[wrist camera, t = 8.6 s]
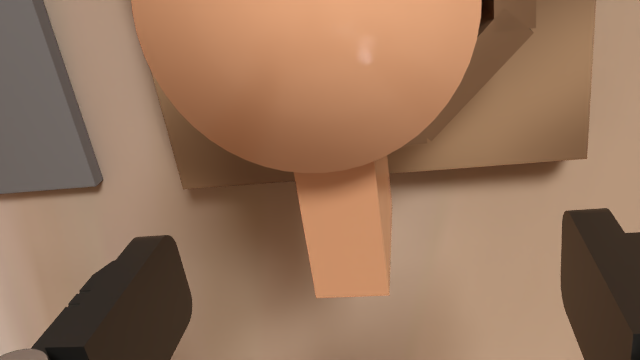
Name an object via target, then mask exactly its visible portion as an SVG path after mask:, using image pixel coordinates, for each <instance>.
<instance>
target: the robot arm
mask: <svg viewBox="0 0 640 360" xmlns="http://www.w3.org/2000/svg"><path fill="white" fill-rule="evenodd" d="M561 292H562V299H563V304H564V308H565V311H566V314H567V316H568V319H569V321H570V324H571V327H572V329H573V332H574V334H575V337H576V339H577V342H578V344H579V347H580V350H581V352H582V355H583V357H584V360H640V232H639V233H625V232H624V231H623V229H622V228H621V226H620V225H619V223H618V222H617V220H616V219H615V217H614V216H613V214H612V213H611V212H610V210H609V209H607V208H602V209H587V210H571V211H565V212H564V215H563V220H562V250H561ZM191 314H192V297H191V292H190V289H189V286H188V282H187V279H186V275H185V272H184V268H183V265H182V262H181V258H180V255H179V251H178V248H177V245H176V242H175V240H174V239H173V238H172V237H171V236H169V235H163V236H147V237H136V238H134V239H133V240H132V241H131V242H130V243H129V244H128V246H127V247H126V248H125V249H124V251H123V252H122V253H121V254H120V256H119V257H118V258H117V259H116V260H115V261H112V262H111V263H109V264H108V265H106V266H105V267H104V268H102V269H101V270H99V271H98V272H96V273H95V274H94V275H92V277H91V278H90V279H89V280H88V281H87V282H86V284H85V285H84V286H83V287H82V288H81V290H80V293H79V294H76V296H75V297H74V298H73V299H72V300H71V301H70V303H69V306H68V307H65V309H64V310H63V311H62V312H61V313H60V314H59V316H58V317H57V318H56V319H55V320H54V322H53V323H52V324H51V325H50V326H49V328H48V329H47V330H46V331H45V332H44V333H43V335H42V336H41V337H40V338H39V339H38V341H37V342H36V343H35V344H34V345H33V346H32V348H31V349H22V350H17V351H13V352H10V353H7V354H4V355H2V356H0V360H170V359H171V357H172V355H173V353H174V351H175V349H176V347H177V345H178V343H179V341H180V339H181V338H182V336H183V334H184V332H185V330H186V328H187V326H188V324H189V322H190V318H191Z"/></svg>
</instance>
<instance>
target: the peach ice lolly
mask: <svg viewBox="0 0 640 360" xmlns="http://www.w3.org/2000/svg"><path fill="white" fill-rule="evenodd" d="M131 2H132V13H133V17H134V22H135V27H136V32H137V36H138V39H139V42H140V45H141V48H142V51H143V53H144V56H145V58H146V61H147V63H148V65H149V67H150V69H151V71H152V73H153V75H154V77H155V79H156V81H157V82H158V84H159V85H160V87H161V89H162V90H163V92H164V93H165V95H166V96H167V98H168V99H169V100H170V101H171V103H172V104H173V105H174V106H175V108H176V109H177V110H178V112H179V113H180V114H181V115H182V116H183V117H184V118H185V119H186V120H187V121H188V122H189V123H190V124H191V125H192V126H193V127H194V128H196V129H197V130H198V131H199V132H201V133H202V134H203V135H204V136H205V137H207V138H208V139H209V140H211V141H212V142H214V143H215V144H217V145H218V146H220V147H222V148H223V149H225V150H226V151H228V152H230V153H232V154H234V155H236V156H238V157H240V158H242V159H245V160H247V161H250V162H253V163H255V164H258V165H261V166H264V167H268V168H272V169H277V170H281V171H287V172H294V177H295V183H296V188H297V194H298V199H299V205H300V211H301V216H302V222H303V227H304V233H305V239H306V244H307V250H308V255H309V261H310V266H311V272H312V278H313V283H314V289H315V294H316V298H331V297H358V296H384V295H389V289H390V258H391V228H392V199H391V190H390V180H389V170H388V160H387V155H389V154H390V153H392V152H394V151H396V150H398V149H399V148H401V147H403V146H404V145H405V144H407V143H408V142H409V141H411V140H412V139H414V138H415V137H416V136H418V135H419V134H420V133H421V132H422V131H423V130H424V129H425V128H426V127H427V126H428V125H429V124H430V123H432V122H433V121H434V120H435V118H436V117H437V116H438V115H439V114H440V112H441V111H442V110H443V109H444V107H445V106H446V105H447V104H448V102H449V101H450V99H451V98H452V96H453V94H454V93H455V91H456V90H457V88H458V86H459V85H460V83H461V81H462V79H463V76H464V74H465V72H466V70H467V68H468V65H469V63H470V60H471V57H472V54H473V51H474V47H475V44H476V41H477V36H478V30H479V25H480V19H481V4H482V0H131Z"/></svg>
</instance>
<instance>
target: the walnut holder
mask: <svg viewBox="0 0 640 360" xmlns="http://www.w3.org/2000/svg"><path fill="white" fill-rule="evenodd" d="M595 8H596V0H482V4H481V19H480V25H479V30H478V36H477V41H476V44H475V47H474V51H473V54H472V57H471V60H470V63H469V65H468V68H467V70H466V72H465V74H464V76H463V79H462V81H461V83H460V85H459V86H458V88H457V90H456V91H455V93H454V94H453V96H452V98H451V99H450V101H449V102H448V104H447V105H446V106H445V107H444V109H443V110H442V111H441V112H440V114H439V115H438V116H437V117H436V118H435V120H434V121H433V122H432V123H430V124H429V125H428V126H427V127H426V128H425V129H424V130H423V131H422V132H421V133H420V134H419V135H418V136H416V137H415V138H414V139H412V140H411V141H409V142H408V143H407V144H405V145H404V146H403V147H401V148H399V149H398V150H396V151H394V152H392V153H390V154H389V155H387V160H388V170H389V174H392V173H405V172H418V171H431V170H445V169H458V168H471V167H484V166H497V165H510V164H524V163H537V162H550V161H563V160H576V159H587V149H588V132H589V114H590V96H591V79H592V61H593V44H594V26H595ZM151 73H152V71H151ZM152 76H153V80H154V84H155V87H156V91H157V95H158V98H159V102H160V106H161V109H162V113H163V117H164V120H165V124H166V128H167V131H168V135H169V139H170V142H171V146H172V150H173V153H174V157H175V161H176V164H177V168H178V172H179V175H180V179H181V183H182V186H183V189H194V188H207V187H221V186H234V185H247V184H260V183H273V182H287V181H295V177H294V172H287V171H281V170H277V169H272V168H268V167H264V166H261V165H258V164H255V163H253V162H250V161H247V160H245V159H242V158H240V157H238V156H236V155H234V154H232V153H230V152H228V151H226V150H225V149H223V148H222V147H220V146H218V145H217V144H215V143H214V142H212V141H211V140H209V139H208V138H207V137H205V136H204V135H203V134H202V133H201V132H199V131H198V130H197V129H196V128H194V127H193V126H192V125H191V124H190V123H189V122H188V121H187V120H186V119H185V118H184V117H183V116H182V115H181V114H180V113H179V112H178V110H177V109H176V108H175V106H174V105H173V104H172V103H171V101H170V100H169V99H168V98H167V96H166V95H165V93H164V92H163V90H162V89H161V87H160V85H159V84H158V82H157V81H156V79H155V77H154V75H153V73H152Z"/></svg>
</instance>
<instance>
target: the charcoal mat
mask: <svg viewBox="0 0 640 360" xmlns="http://www.w3.org/2000/svg"><path fill="white" fill-rule="evenodd" d="M102 180H103V178H102V175H101V172H100V169H99V166H98V163H97V160H96V157H95V154H94V151H93V148H92V145H91V142H90V139H89V136H88V133H87V130H86V128H85V125H84V122H83V119H82V116H81V113H80V110H79V107H78V104H77V101H76V98H75V95H74V92H73V89H72V86H71V83H70V80H69V77H68V74H67V71H66V68H65V65H64V62H63V59H62V56H61V53H60V50H59V47H58V44H57V41H56V38H55V35H54V33H53V30H52V27H51V24H50V21H49V18H48V15H47V12H46V9H45V6H44V3H43V0H0V194H5V193H17V192H30V191H42V190H55V189H68V188H80V187H93V186H97V185H98V184H99V183H100V182H101V181H102Z"/></svg>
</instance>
